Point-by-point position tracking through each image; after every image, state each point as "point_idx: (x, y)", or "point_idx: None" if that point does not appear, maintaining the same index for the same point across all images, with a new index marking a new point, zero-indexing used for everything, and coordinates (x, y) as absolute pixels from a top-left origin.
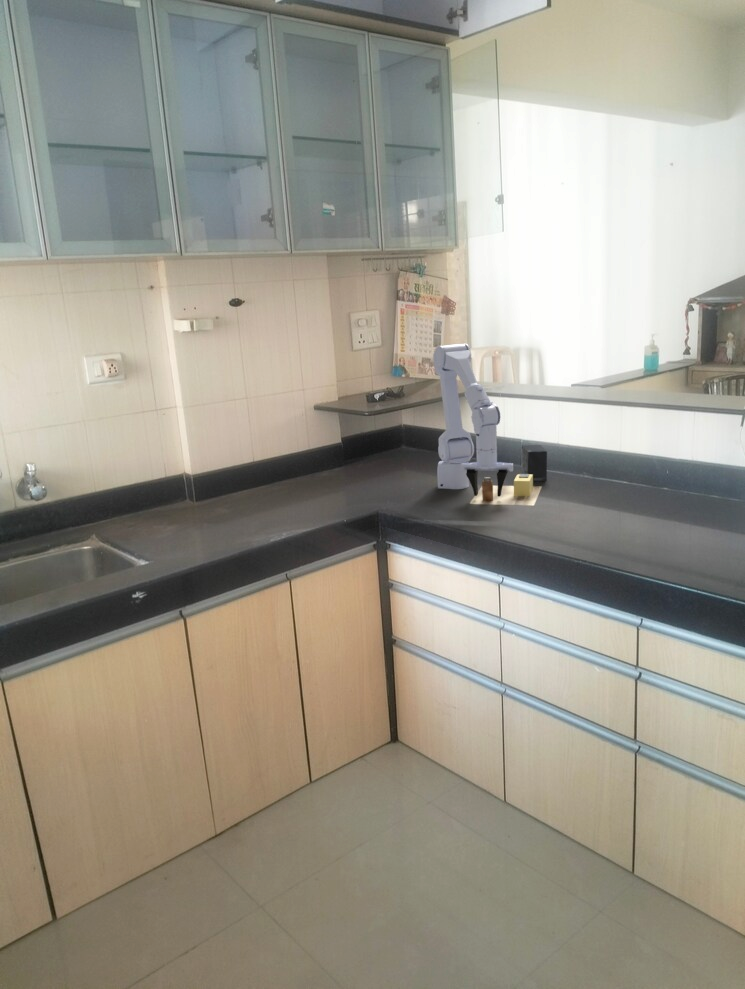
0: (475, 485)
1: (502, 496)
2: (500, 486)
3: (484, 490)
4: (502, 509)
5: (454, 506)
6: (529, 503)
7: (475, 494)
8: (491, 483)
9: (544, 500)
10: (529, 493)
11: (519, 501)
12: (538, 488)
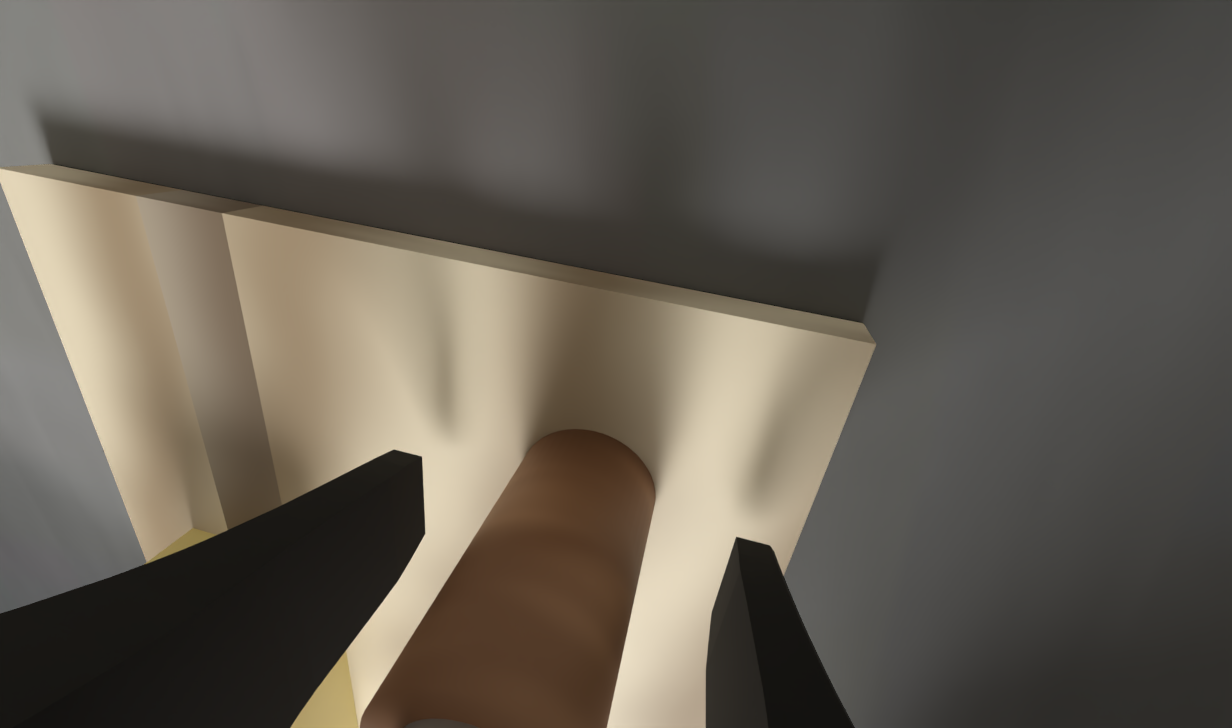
0: (757, 708)
1: (438, 576)
2: (237, 536)
3: (584, 563)
4: (387, 172)
5: (1106, 399)
6: (80, 267)
7: (755, 553)
8: (391, 671)
9: (105, 461)
10: (166, 549)
11: (214, 366)
12: None
